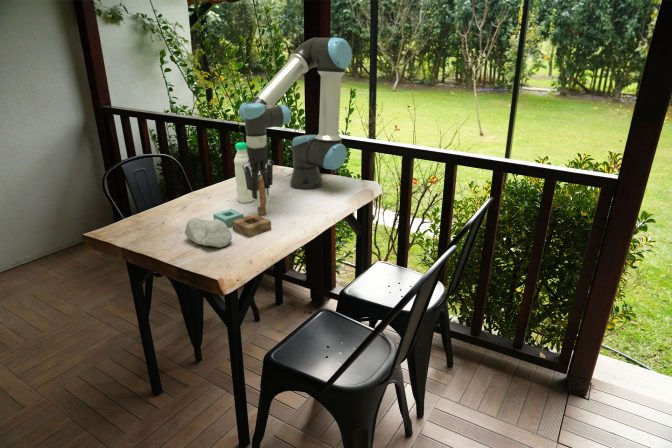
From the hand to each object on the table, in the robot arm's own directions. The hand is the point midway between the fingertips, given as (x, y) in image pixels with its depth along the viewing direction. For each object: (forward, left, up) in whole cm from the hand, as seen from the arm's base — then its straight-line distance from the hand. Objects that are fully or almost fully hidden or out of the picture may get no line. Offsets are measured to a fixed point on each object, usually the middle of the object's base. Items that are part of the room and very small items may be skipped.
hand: (261, 204), depth 184 cm
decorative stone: (+29, +8, -4) cm, 31 cm away
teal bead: (+14, -2, -4) cm, 15 cm away
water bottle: (-5, -18, -4) cm, 19 cm away
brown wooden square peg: (0, 0, -4) cm, 4 cm away
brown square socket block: (+12, +10, -4) cm, 16 cm away
